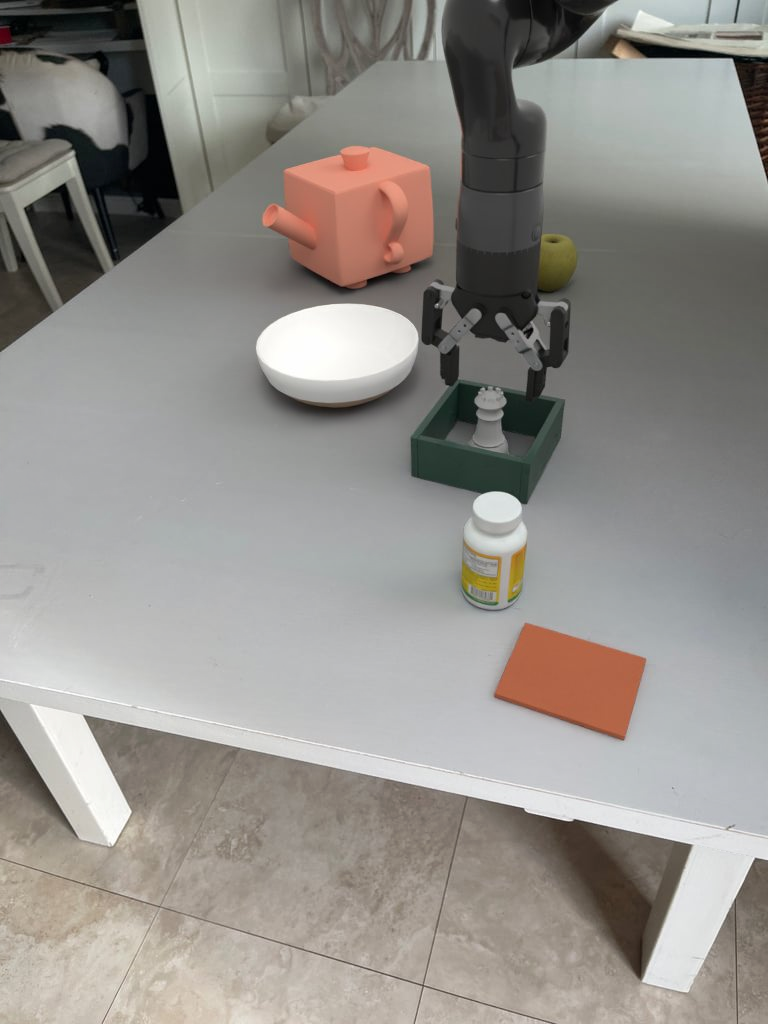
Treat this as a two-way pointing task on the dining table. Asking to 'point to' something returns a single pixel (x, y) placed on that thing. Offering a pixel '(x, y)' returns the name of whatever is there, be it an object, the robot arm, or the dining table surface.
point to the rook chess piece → (490, 421)
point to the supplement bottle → (494, 551)
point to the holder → (481, 465)
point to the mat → (572, 680)
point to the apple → (556, 262)
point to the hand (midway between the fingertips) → (490, 389)
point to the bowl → (338, 353)
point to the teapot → (356, 215)
